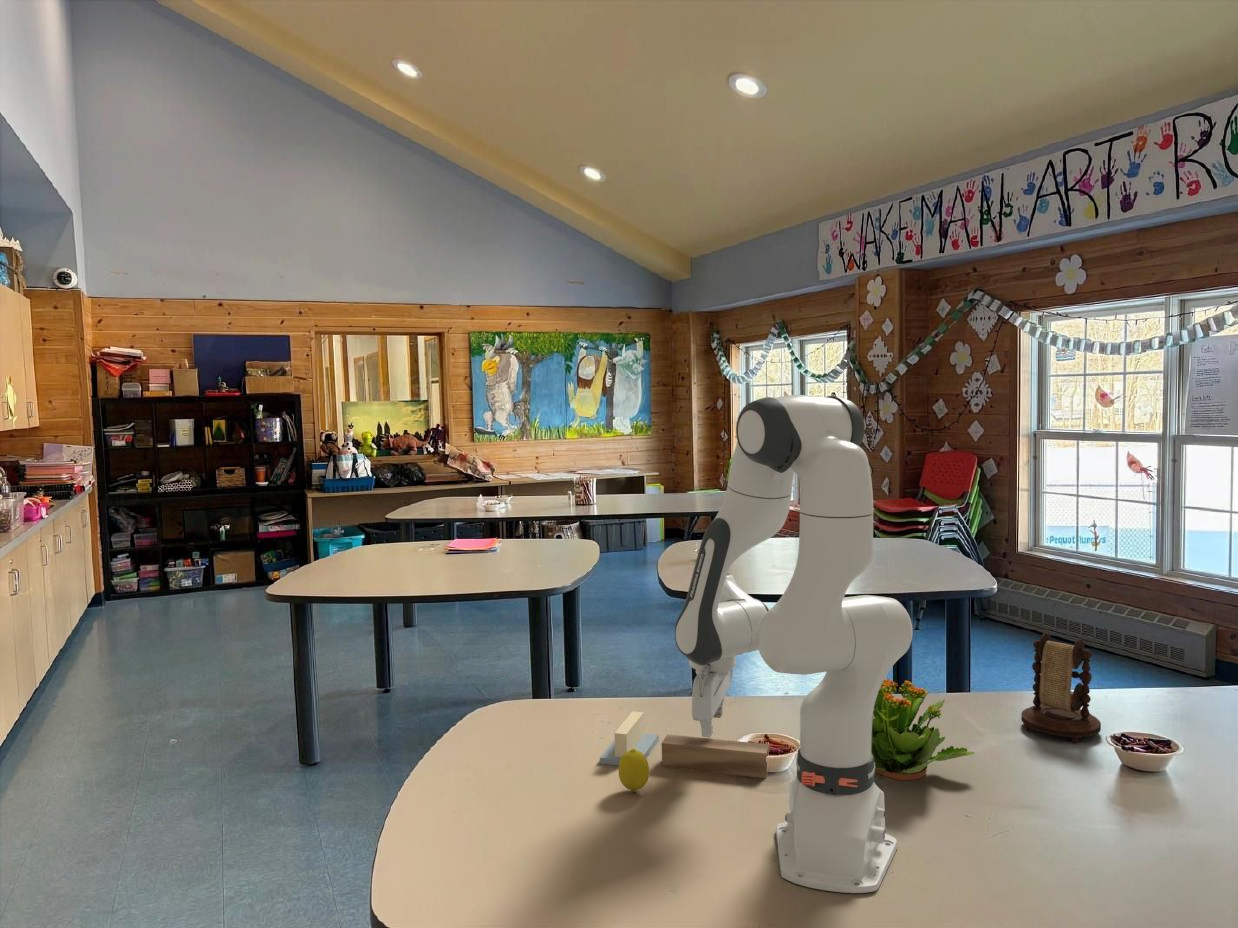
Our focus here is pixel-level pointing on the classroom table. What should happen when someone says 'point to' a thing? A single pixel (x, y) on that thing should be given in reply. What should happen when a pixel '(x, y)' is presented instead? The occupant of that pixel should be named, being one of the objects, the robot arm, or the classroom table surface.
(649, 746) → the fulcrum
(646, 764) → the lemon
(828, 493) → the robot arm
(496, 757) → the classroom table surface
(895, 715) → the potted flower
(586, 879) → the classroom table surface
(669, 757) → the walnut bar
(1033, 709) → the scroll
